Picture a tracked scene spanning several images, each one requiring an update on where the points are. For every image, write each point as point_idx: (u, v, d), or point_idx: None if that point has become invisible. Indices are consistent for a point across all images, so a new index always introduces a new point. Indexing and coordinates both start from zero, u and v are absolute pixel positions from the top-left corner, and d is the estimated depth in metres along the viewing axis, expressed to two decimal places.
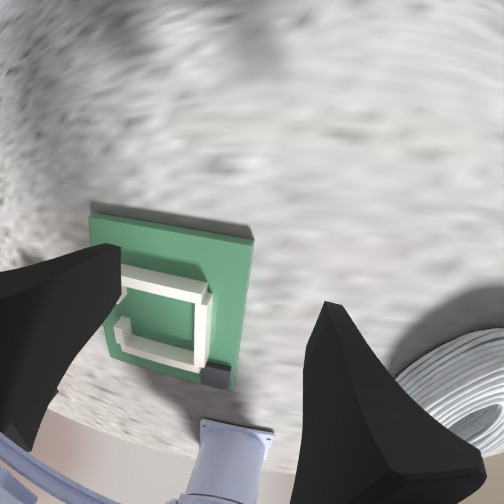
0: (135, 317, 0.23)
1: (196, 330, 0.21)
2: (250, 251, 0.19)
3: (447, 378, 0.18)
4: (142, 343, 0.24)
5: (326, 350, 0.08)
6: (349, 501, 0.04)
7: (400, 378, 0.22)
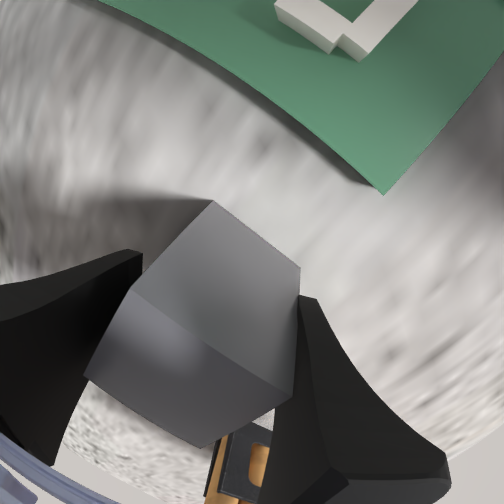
0: None
1: None
2: None
3: None
4: None
5: None
6: (298, 498, 0.04)
7: None
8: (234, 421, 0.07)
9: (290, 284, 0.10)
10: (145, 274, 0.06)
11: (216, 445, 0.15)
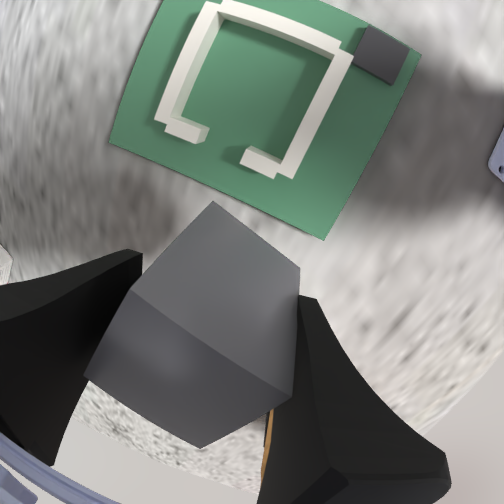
0: (251, 134, 0.15)
1: (262, 21, 0.11)
2: None
3: None
4: None
5: None
6: (298, 498, 0.04)
7: None
8: (234, 421, 0.07)
9: (290, 284, 0.10)
10: (145, 274, 0.06)
11: (267, 412, 0.23)
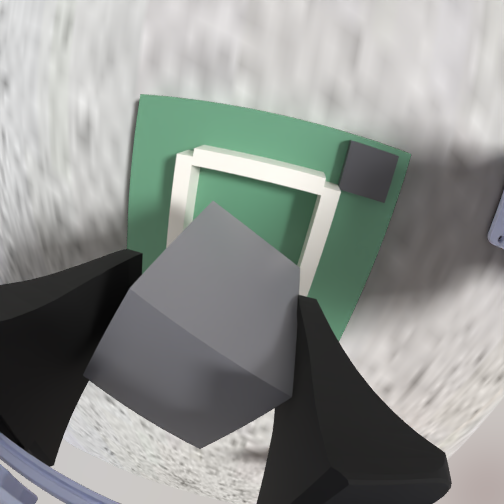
0: None
1: (240, 172, 0.14)
2: (147, 95, 0.14)
3: None
4: None
5: None
6: (298, 498, 0.04)
7: None
8: (233, 421, 0.07)
9: (290, 284, 0.10)
10: (145, 274, 0.06)
11: None
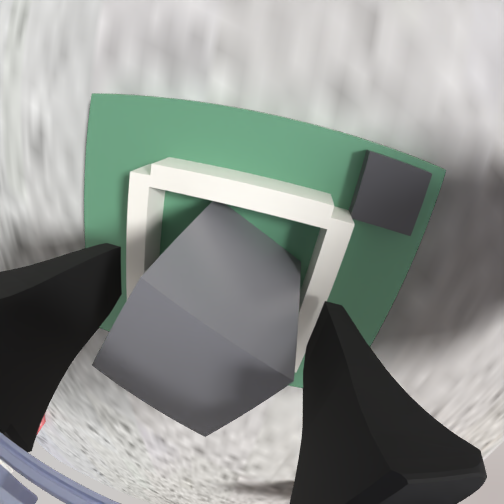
0: None
1: (214, 196, 0.10)
2: (99, 94, 0.10)
3: None
4: None
5: (326, 350, 0.08)
6: (349, 501, 0.04)
7: None
8: (238, 406, 0.07)
9: (291, 277, 0.10)
10: (154, 264, 0.07)
11: None
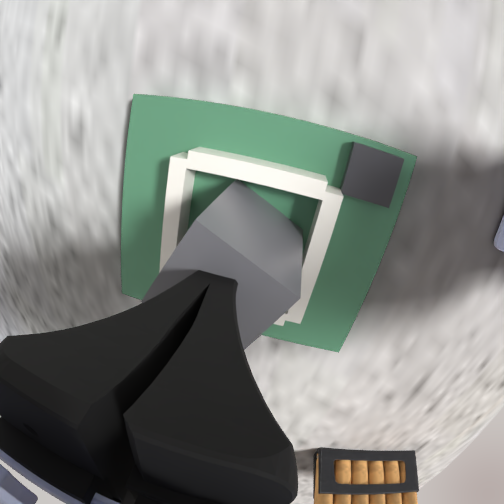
0: None
1: (237, 175, 0.13)
2: (140, 95, 0.13)
3: None
4: None
5: None
6: (135, 457, 0.04)
7: None
8: (258, 326, 0.10)
9: (296, 237, 0.13)
10: (202, 214, 0.10)
11: (314, 467, 0.24)
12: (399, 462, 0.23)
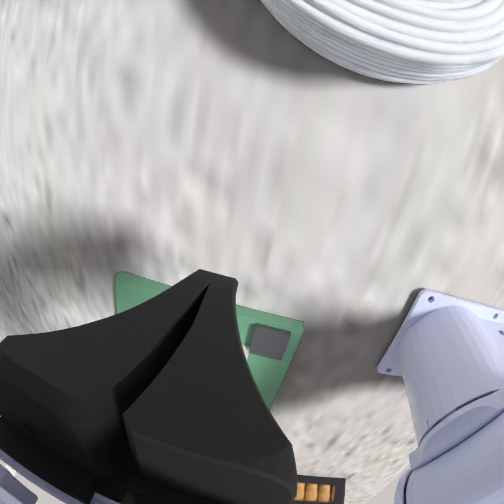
0: None
1: None
2: (119, 278, 0.21)
3: None
4: None
5: None
6: None
7: (323, 53, 0.14)
8: None
9: None
10: None
11: None
12: (331, 486, 0.31)
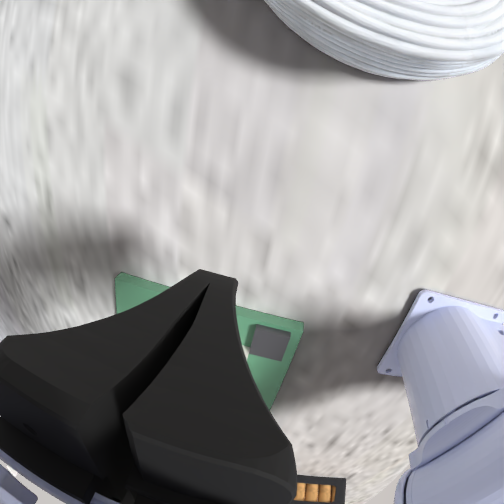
0: None
1: None
2: (119, 280, 0.21)
3: None
4: None
5: None
6: (134, 456, 0.04)
7: (325, 50, 0.13)
8: None
9: None
10: None
11: None
12: (332, 486, 0.31)
